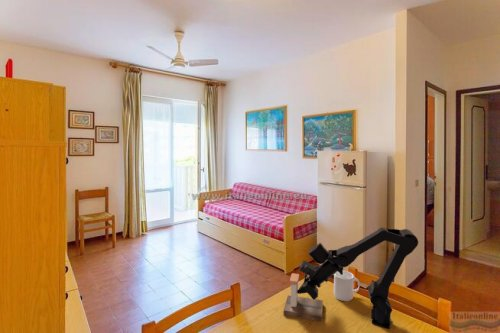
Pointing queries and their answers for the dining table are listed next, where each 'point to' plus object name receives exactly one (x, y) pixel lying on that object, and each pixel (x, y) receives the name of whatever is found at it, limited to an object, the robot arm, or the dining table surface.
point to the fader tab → (294, 289)
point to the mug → (344, 286)
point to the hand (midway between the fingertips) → (297, 292)
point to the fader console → (304, 308)
